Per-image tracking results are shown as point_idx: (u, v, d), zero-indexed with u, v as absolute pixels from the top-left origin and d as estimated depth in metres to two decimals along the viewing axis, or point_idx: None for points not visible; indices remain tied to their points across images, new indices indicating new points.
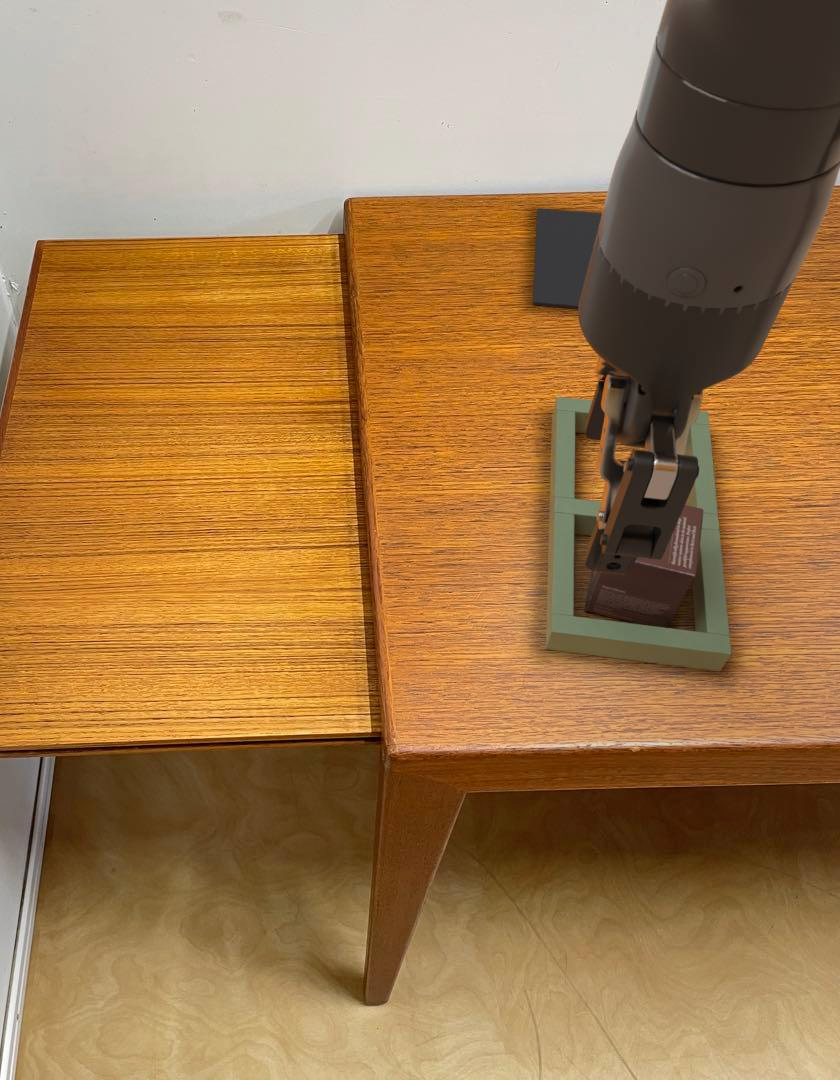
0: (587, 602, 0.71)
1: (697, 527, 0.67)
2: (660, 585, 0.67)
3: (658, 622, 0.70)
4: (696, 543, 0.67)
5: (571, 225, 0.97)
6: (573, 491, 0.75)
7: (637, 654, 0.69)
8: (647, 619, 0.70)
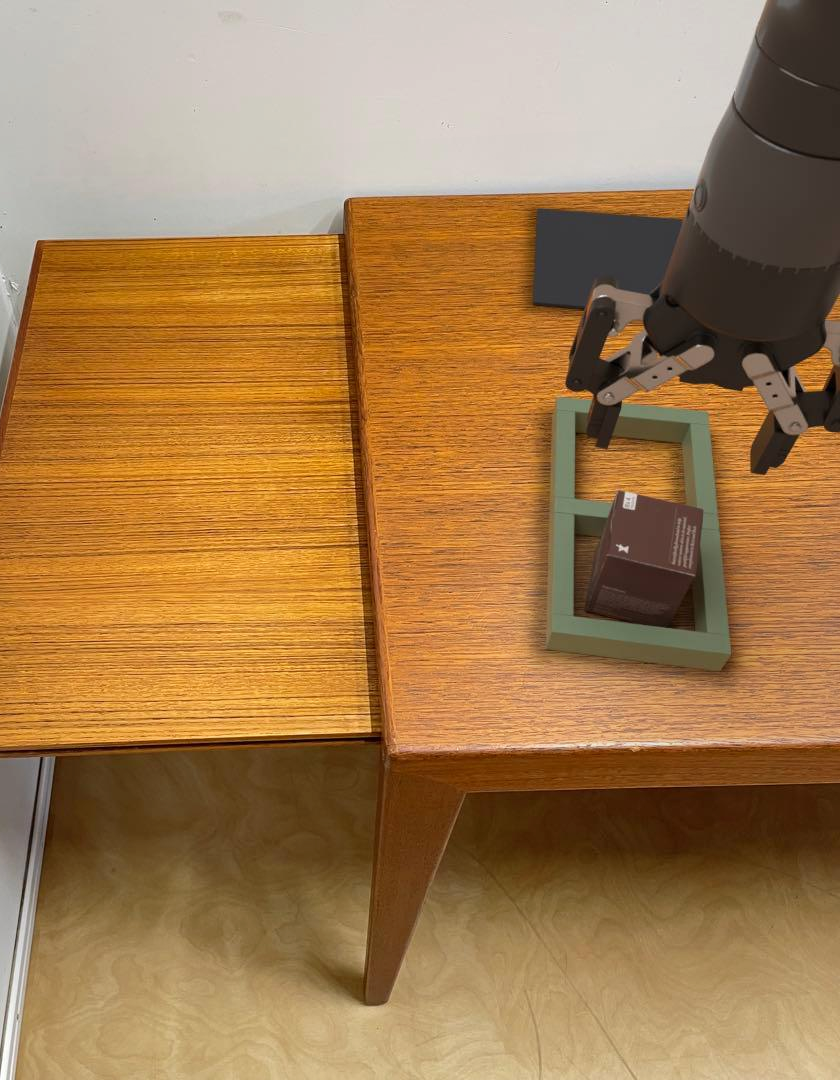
0: (587, 602, 0.71)
1: (697, 527, 0.67)
2: (660, 585, 0.67)
3: (658, 622, 0.70)
4: (696, 543, 0.67)
5: (571, 225, 0.97)
6: (573, 491, 0.75)
7: (637, 654, 0.69)
8: (647, 619, 0.70)
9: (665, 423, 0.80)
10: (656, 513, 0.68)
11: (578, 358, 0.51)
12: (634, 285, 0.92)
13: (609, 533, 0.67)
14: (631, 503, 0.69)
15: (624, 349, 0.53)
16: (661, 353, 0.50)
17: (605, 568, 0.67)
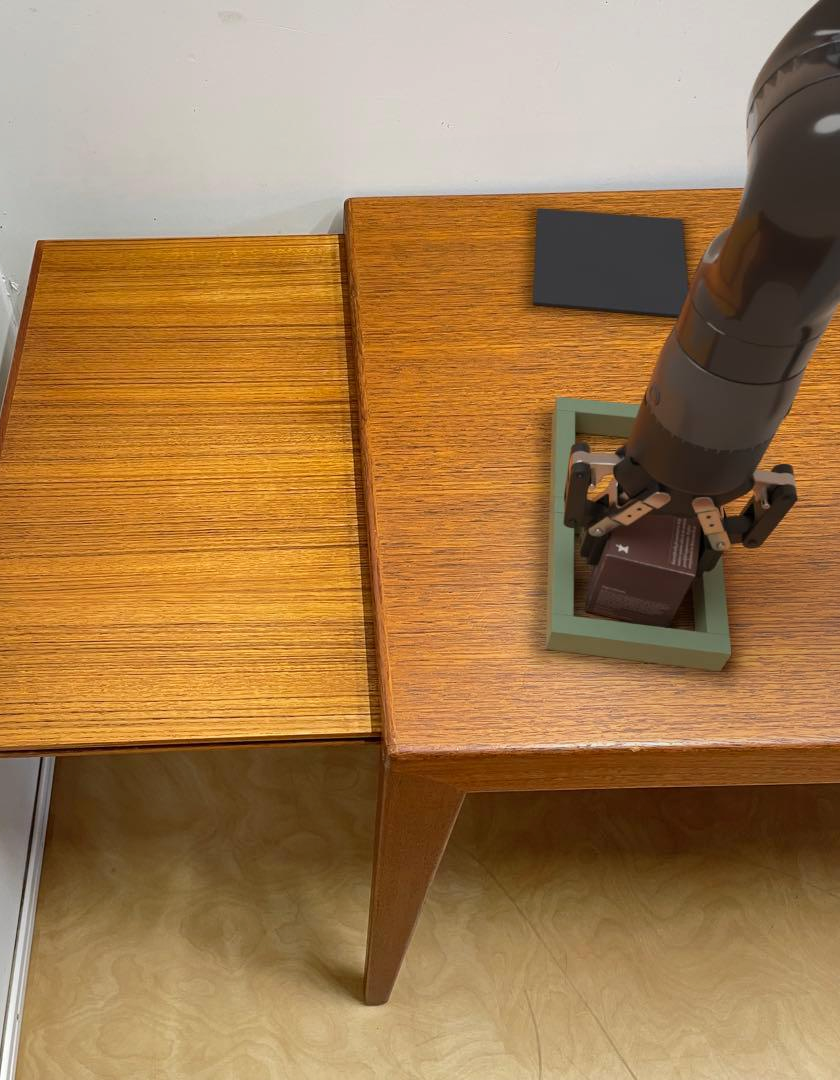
0: (587, 602, 0.71)
1: (697, 527, 0.67)
2: (660, 585, 0.67)
3: (658, 622, 0.70)
4: (696, 543, 0.67)
5: (571, 225, 0.97)
6: None
7: (637, 654, 0.69)
8: (647, 619, 0.70)
9: None
10: None
11: (569, 506, 0.65)
12: (634, 285, 0.92)
13: (609, 533, 0.67)
14: None
15: (604, 491, 0.66)
16: (628, 495, 0.63)
17: (604, 568, 0.67)
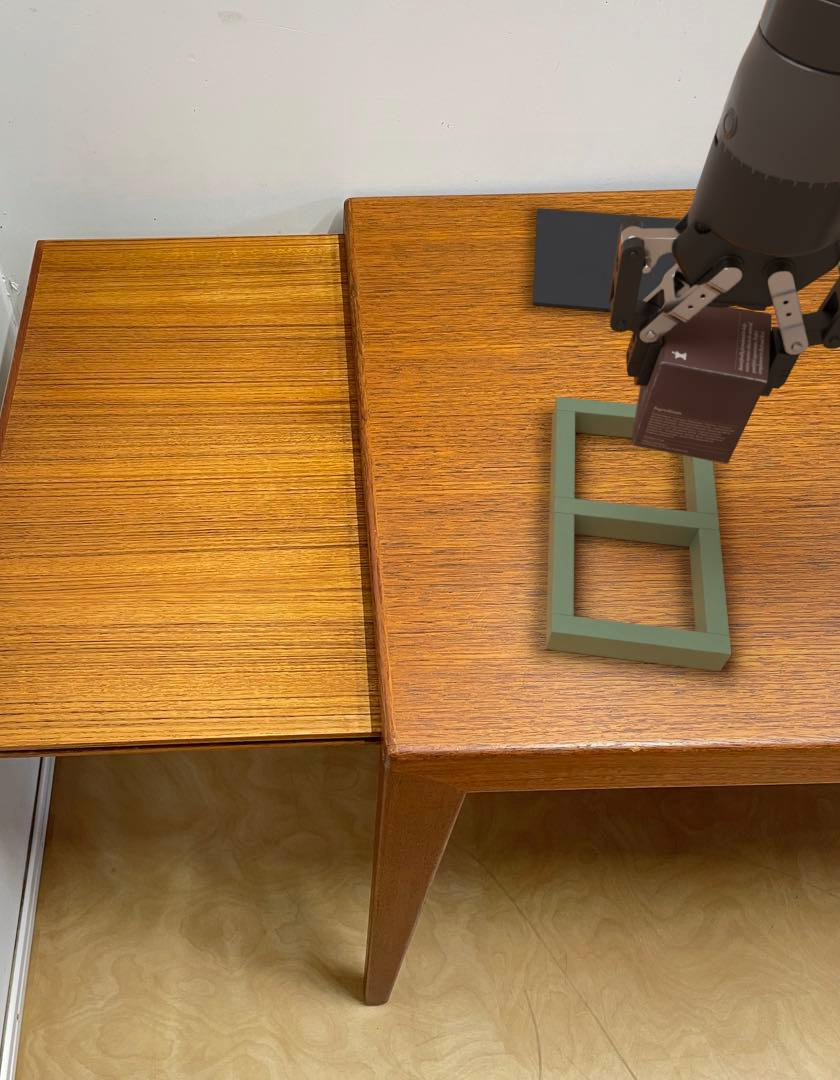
0: (635, 433, 0.61)
1: (766, 332, 0.57)
2: (723, 399, 0.57)
3: (718, 453, 0.60)
4: (766, 348, 0.57)
5: (571, 225, 0.97)
6: (573, 491, 0.75)
7: (637, 654, 0.69)
8: (705, 450, 0.60)
9: None
10: (716, 319, 0.58)
11: (618, 299, 0.55)
12: None
13: (662, 341, 0.58)
14: None
15: (657, 288, 0.57)
16: (690, 280, 0.53)
17: (658, 381, 0.57)
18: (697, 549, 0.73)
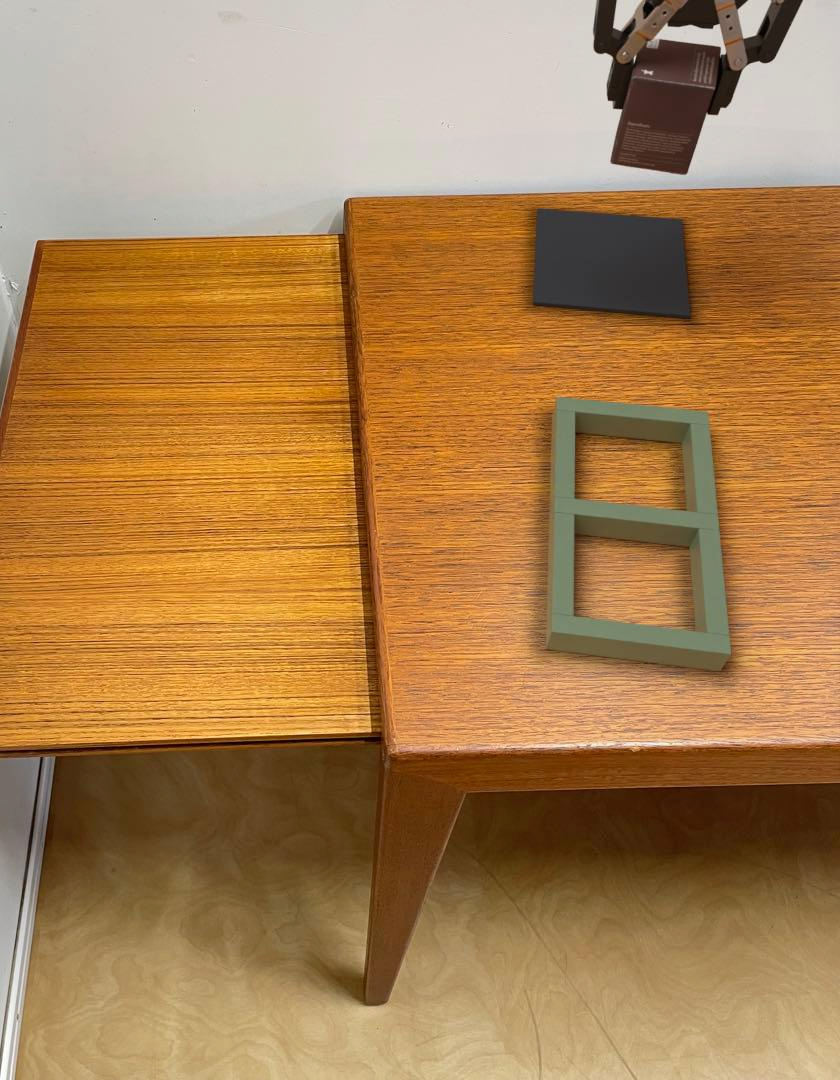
0: (613, 152, 0.77)
1: (715, 58, 0.73)
2: (681, 108, 0.73)
3: (679, 164, 0.76)
4: (715, 68, 0.72)
5: (571, 225, 0.97)
6: (573, 491, 0.75)
7: (637, 654, 0.69)
8: (668, 161, 0.76)
9: (665, 423, 0.80)
10: (677, 50, 0.74)
11: (599, 21, 0.70)
12: (634, 285, 0.92)
13: (634, 64, 0.73)
14: (654, 44, 0.74)
15: (630, 19, 0.72)
16: (654, 1, 0.69)
17: (630, 96, 0.73)
18: (697, 549, 0.73)
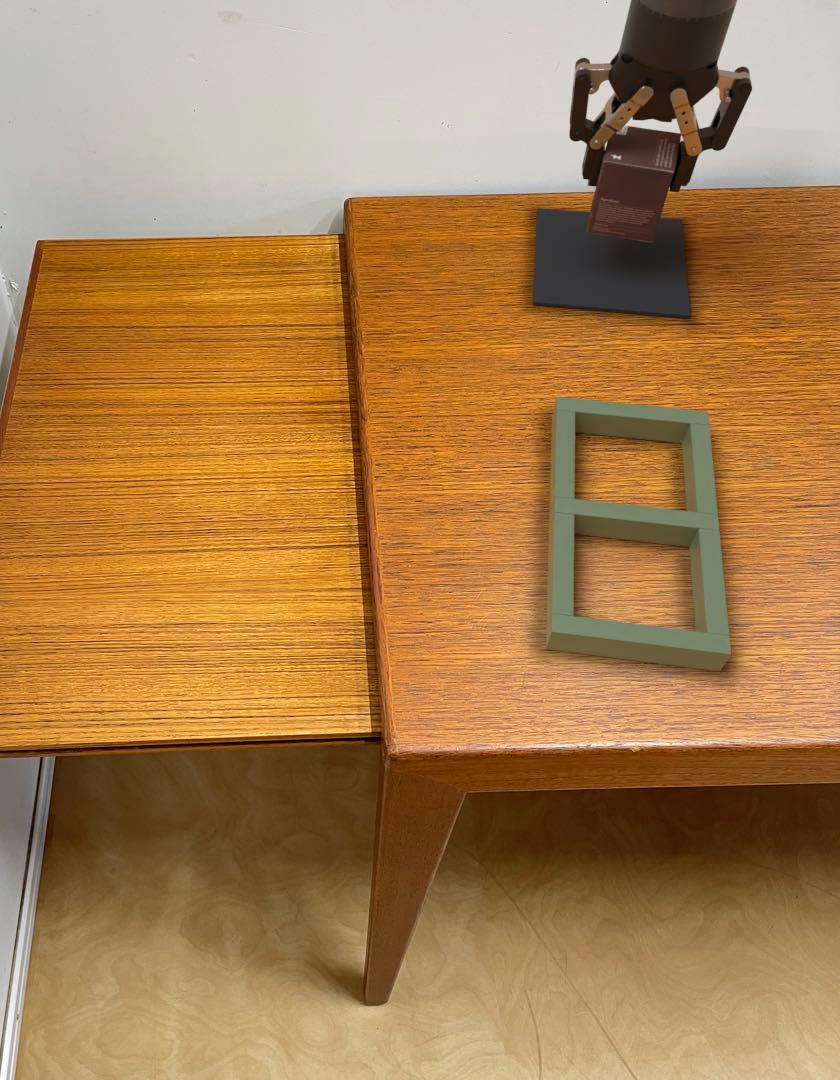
0: (588, 222, 0.88)
1: (676, 144, 0.84)
2: (646, 188, 0.84)
3: (645, 233, 0.87)
4: (675, 153, 0.84)
5: (571, 225, 0.97)
6: (573, 491, 0.75)
7: (637, 654, 0.69)
8: (636, 231, 0.87)
9: (665, 423, 0.80)
10: (643, 136, 0.85)
11: (574, 115, 0.82)
12: (634, 285, 0.92)
13: (605, 149, 0.85)
14: (623, 131, 0.86)
15: (601, 112, 0.84)
16: (620, 99, 0.80)
17: (602, 176, 0.84)
18: (697, 549, 0.73)
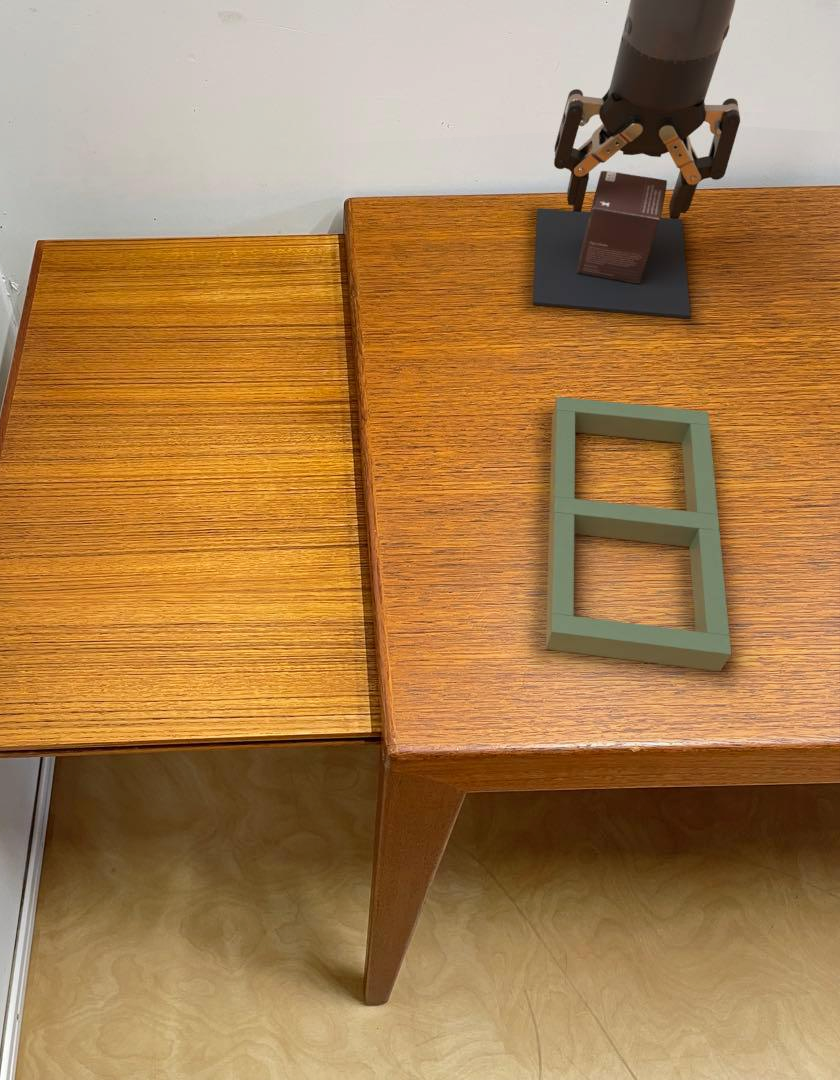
0: (578, 263, 0.92)
1: (662, 191, 0.88)
2: (633, 233, 0.88)
3: (633, 275, 0.91)
4: (661, 200, 0.87)
5: (571, 225, 0.97)
6: (573, 491, 0.75)
7: (637, 654, 0.69)
8: (624, 273, 0.91)
9: (665, 423, 0.80)
10: (630, 183, 0.89)
11: (561, 143, 0.84)
12: (634, 285, 0.92)
13: (595, 196, 0.88)
14: (611, 177, 0.90)
15: (588, 141, 0.86)
16: (611, 135, 0.83)
17: (591, 222, 0.88)
18: (697, 549, 0.73)
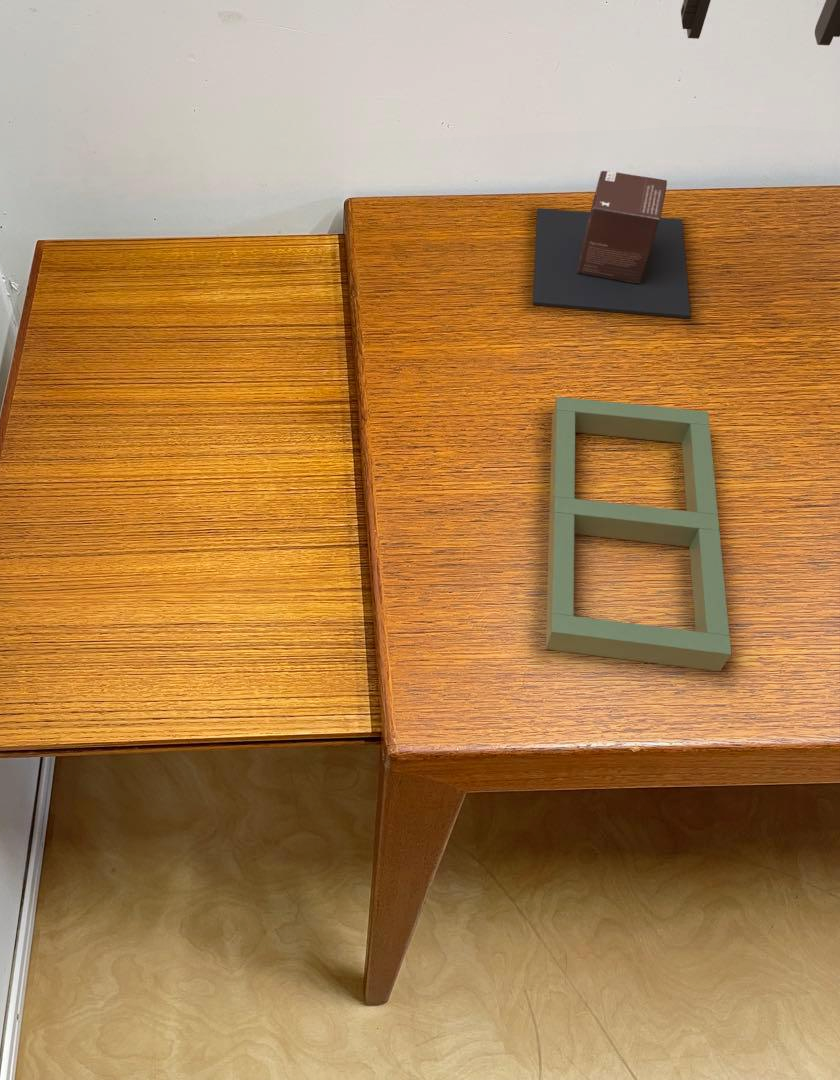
0: (578, 263, 0.92)
1: (662, 191, 0.88)
2: (633, 233, 0.88)
3: (633, 275, 0.91)
4: (661, 200, 0.87)
5: (571, 225, 0.97)
6: (573, 491, 0.75)
7: (637, 654, 0.69)
8: (624, 273, 0.91)
9: (665, 423, 0.80)
10: (630, 183, 0.89)
11: None
12: (634, 285, 0.92)
13: (595, 196, 0.88)
14: (611, 177, 0.90)
15: None
16: None
17: (591, 222, 0.88)
18: (697, 549, 0.73)
